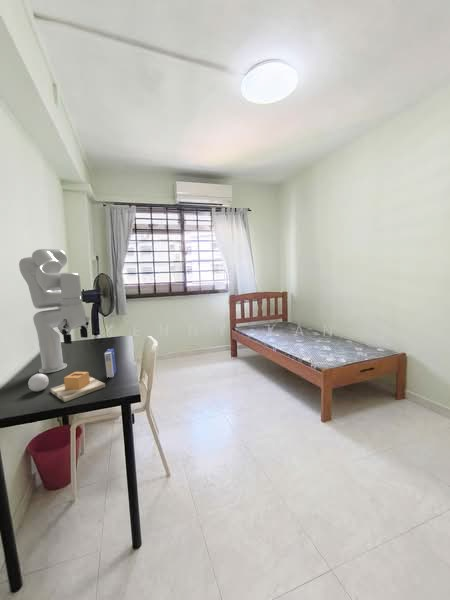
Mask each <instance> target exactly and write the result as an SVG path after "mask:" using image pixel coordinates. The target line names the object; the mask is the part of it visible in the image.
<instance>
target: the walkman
mask: <svg viewBox="0 0 450 600" xmlns="http://www.w3.org/2000/svg"><path fill="white" fill-rule="evenodd" d="M115 356H116V355H115V349H114V348H108V349H107V350H106V351H105V352H104V363H105V371H106V379H107V378H108V377H109V378H113V377H114V376H115V375H116V373H117V366H116V357H115Z"/></svg>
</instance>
